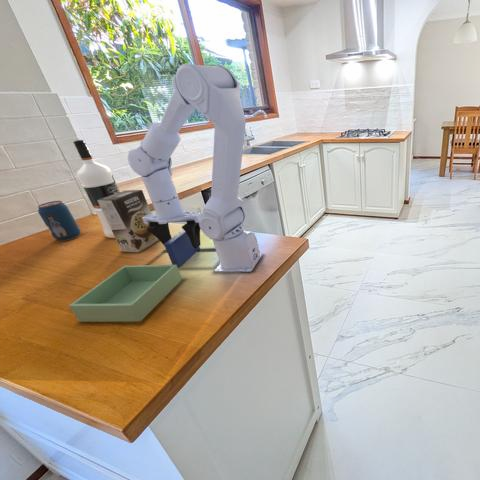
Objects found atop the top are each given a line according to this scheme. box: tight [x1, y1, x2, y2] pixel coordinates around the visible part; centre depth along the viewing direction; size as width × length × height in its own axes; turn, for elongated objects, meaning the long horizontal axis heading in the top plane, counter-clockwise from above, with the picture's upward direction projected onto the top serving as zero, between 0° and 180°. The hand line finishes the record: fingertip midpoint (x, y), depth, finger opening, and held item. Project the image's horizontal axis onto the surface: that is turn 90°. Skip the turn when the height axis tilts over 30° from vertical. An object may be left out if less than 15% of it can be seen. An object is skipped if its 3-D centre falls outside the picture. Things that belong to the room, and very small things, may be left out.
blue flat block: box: [163, 229, 201, 269], centre depth 77 cm, size 2×10×7 cm, turn 176°
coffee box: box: [97, 189, 160, 253], centre depth 84 cm, size 9×6×16 cm
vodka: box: [72, 139, 121, 239], centre depth 90 cm, size 9×9×30 cm
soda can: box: [37, 200, 82, 242], centre depth 95 cm, size 7×7×12 cm
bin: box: [68, 264, 183, 323], centre depth 63 cm, size 13×14×4 cm
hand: (183, 247), depth 77 cm, fingers open, 7 cm apart
